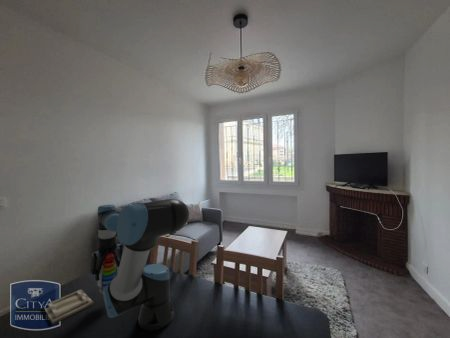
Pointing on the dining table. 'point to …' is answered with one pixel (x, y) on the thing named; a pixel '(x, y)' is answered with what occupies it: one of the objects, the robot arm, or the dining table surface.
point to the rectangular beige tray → (67, 306)
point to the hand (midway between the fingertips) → (108, 282)
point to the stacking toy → (108, 271)
